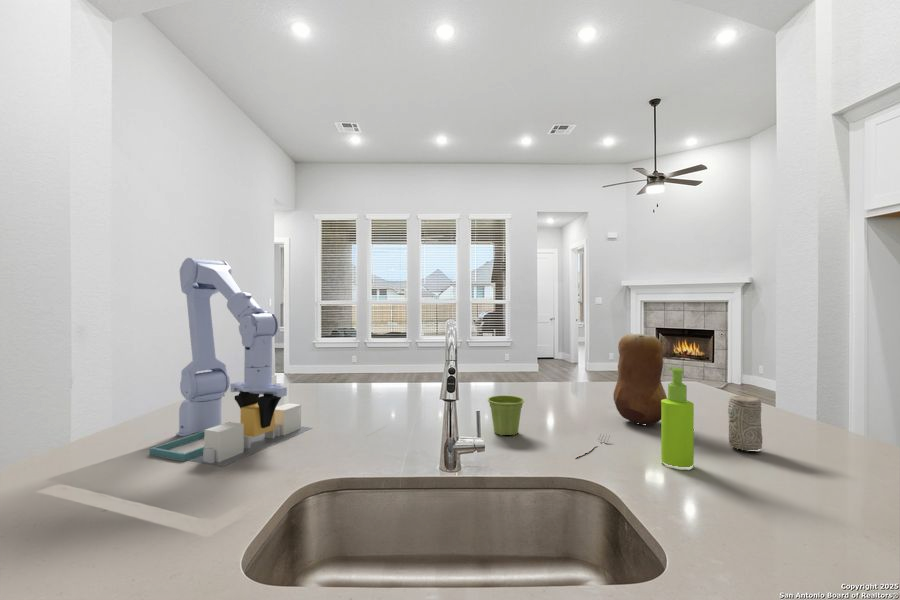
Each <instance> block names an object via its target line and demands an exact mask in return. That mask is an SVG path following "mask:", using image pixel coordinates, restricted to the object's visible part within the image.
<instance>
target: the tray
mask: <svg viewBox="0 0 900 600" xmlns="http://www.w3.org/2000/svg"><path fill="white" fill-rule="evenodd" d="M204 433H205V431H203V432H195V433H192V434H189V435H186V436H183V437H181V438H177V439H175V440H172V441H168V442H166V443H162V444H159V445H157V446H153V447H150V448H149V456H153V457H161V458H164V459H165V458H166V459H171V460H176V461H180V462H181V461H182V462H186V461H188V460H191V459H194V458H196V457H199V456H202V455H203V449H204V446H202V447H198V448H196V449H193V450H189V451H187V452H179V451H177V450H176V451H175V450H171V449H174V448H178V447H180V446H183V445H186V444H190V443H191V442H195V441H199V440H201V439H204Z"/></svg>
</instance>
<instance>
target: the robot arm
mask: <svg viewBox="0 0 900 600" xmlns="http://www.w3.org/2000/svg"><path fill="white" fill-rule="evenodd" d="M179 279H180V289H181V292H182V293H183V294H185V295H186V305H187V315H188V327H189V335H190V336H189V337H190V338H189V339H190V347H191V348H190V349H191V358H192V361H190V362H189V363H188V364H187V365H186V366H184V367H183V368H182V370H181V371H180V372H181V374H180V375H181V378H180V383H179V389H180V394H181V395H182V397H183V398H184V400H183V401H182V402H181V403H180V406H179V410H178V432H175V436H179V437H180V436H181V437H186V436H189V435H192V434H196V433H199V432H203V431H205V429H209V428H212V427H215V426H218V425H221V424H222V415H223V414H222V411H223V410H222V403H223V401H222V400H223V399H222V398H223V397H225V394H226V393H227V392H228V391H229V390H230V393H236V392H237V393H238V394H237V395H235V396H234V400H235V402H236V403H237V404H238V407H239V409H240V410H241V408H242V407H245V406H249V405H252V404H256V403H258V406H259V411H260V424H261V428H266V427H268V426H270V424H271V420H272V417H273V413H274V411H275V408H276V407H278V406H277V405H278V404H279V402H280V401H281V399H282V397H286V396H287V394H288V391H287V390H288V387H287V386H284V385H283V386H282V385H278V384H276V383H275V384H274V383H273V337H275V335H277V333H278V330H279V322H278V318H277V317H276V315H275V313H273V312H270V311H266V310H263V308H262V307H261V306H260V305H259V303H258V302H257V301H256V299H254V297H252V294H251V293H250V292H246V291H242V290H241V289H240V287H239V286H238V285H237V283H236V282H235V280H234V279H233V277H232V267H231V266H230V264H229V263H228V262H227V261H226V260H212V259H202V258H200V259H199V258H193V257H186V258H185V259H184V260H183V262H182V263H181V266H180V268H179ZM218 293H221V295H222V296H223V297H224V298H225V299H226V300H227V302H226V307H227V309H228V310H229V312H230V313H231V314H232V316H233V318H234V319H235V320H237V322H238V324H239V325H238V333H239V334H240V337H241V344H242V346H243V347H244V364H243V366H244V370H243V371H244V373H243V374H244V376H243V377H244V379H243V380H244V381H243V382H240V381H239V382H238V381H236V382H233V383H232V382H231V380H230V375H229V374H228V370H227V365H226V364H225V362H223V361H221V360H220V359H218V358H216V349H215V348H216V347H215V337H214V329H213V328H214V327H213V320H212V310H211V297H212V296H213V295H216V294H218ZM203 371H204V372H203ZM197 372H198V373H197ZM229 387H230V389H229ZM260 395H262V396H260Z"/></svg>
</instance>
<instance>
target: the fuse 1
mask: <svg viewBox="0 0 900 600" xmlns="http://www.w3.org/2000/svg"><path fill="white" fill-rule="evenodd" d="M243 437H244V424H241V423H240V422H239V423H238V422H233V421H227V422H225V423H221V425H218V426H215V427H212V428H209V429H205V433H204V438H203V440H204V441H203V443H204V445H203V447H204V449H205V448H208V449H214V450H215V462H221V461H223V460H226V459H228V458H231V457H233V456H235V455H238V454H240V453H243Z"/></svg>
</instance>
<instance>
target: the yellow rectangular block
mask: <svg viewBox="0 0 900 600" xmlns="http://www.w3.org/2000/svg"><path fill="white" fill-rule="evenodd" d="M239 423H241V424H244V435H246V436H251V437H256V436H258V435H261V434H264V433H266V432H269V431H271V430H274V429H275V411H274V413H273V417H272V420H271V424H270V426H268V427H266V428H261V424H260V411H259V406H258V403H256V404H252V405H249V406H245V407H242V408H241V409H240V422H239Z"/></svg>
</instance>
